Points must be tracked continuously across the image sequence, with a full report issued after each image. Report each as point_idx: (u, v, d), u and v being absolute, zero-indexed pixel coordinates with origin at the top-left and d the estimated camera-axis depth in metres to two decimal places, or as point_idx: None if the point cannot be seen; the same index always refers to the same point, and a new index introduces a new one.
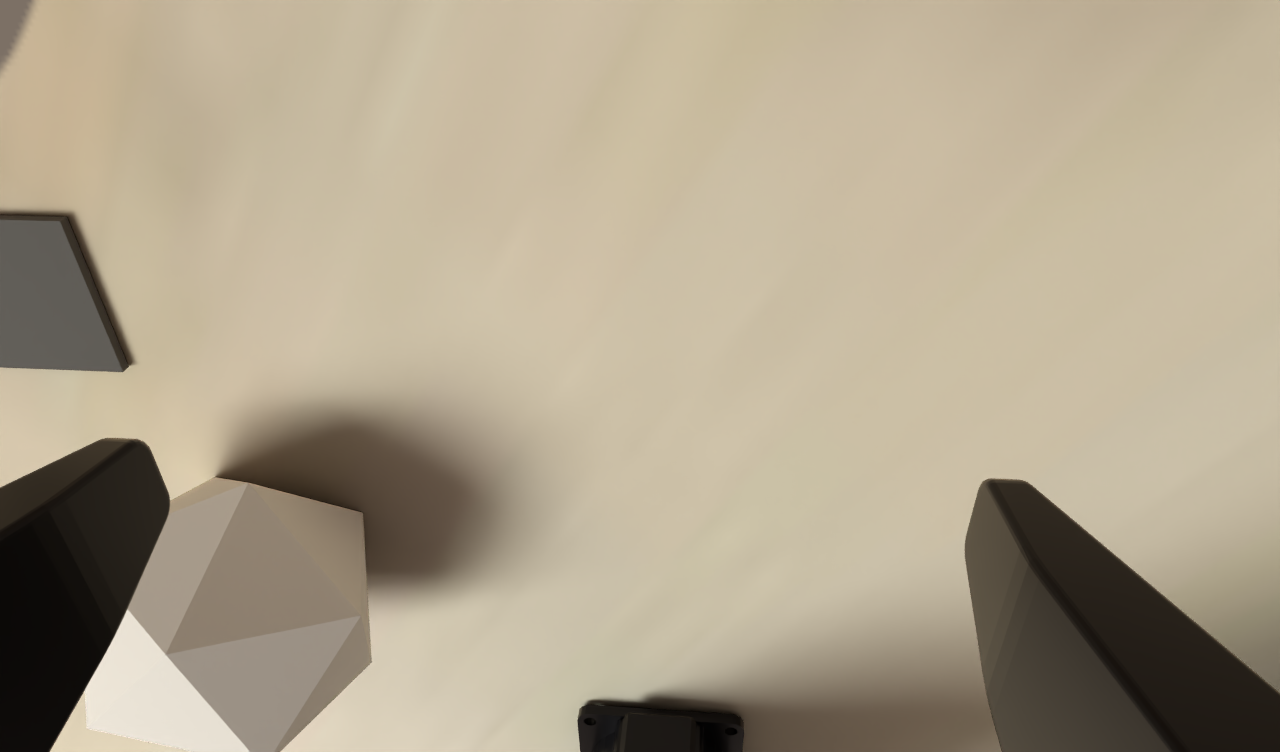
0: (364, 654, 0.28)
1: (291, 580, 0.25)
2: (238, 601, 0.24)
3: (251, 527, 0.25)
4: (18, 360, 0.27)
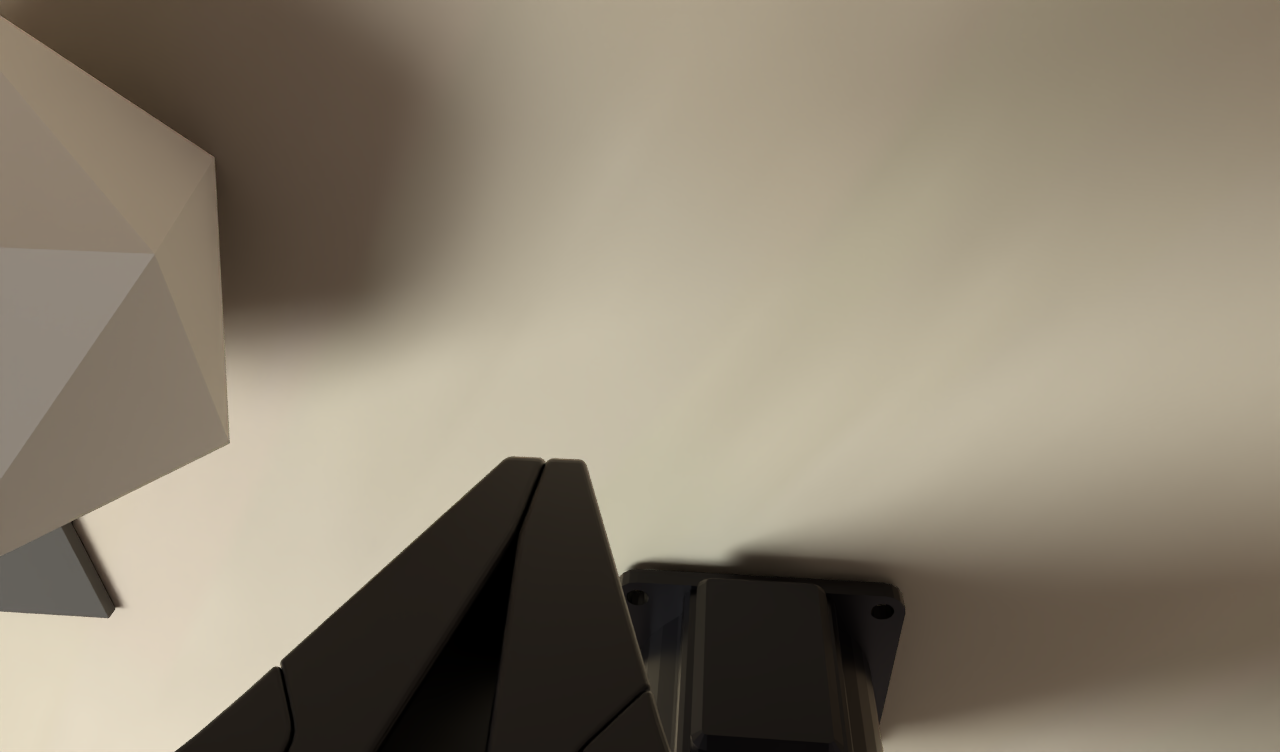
0: (201, 405, 0.14)
1: None
2: None
3: None
4: None
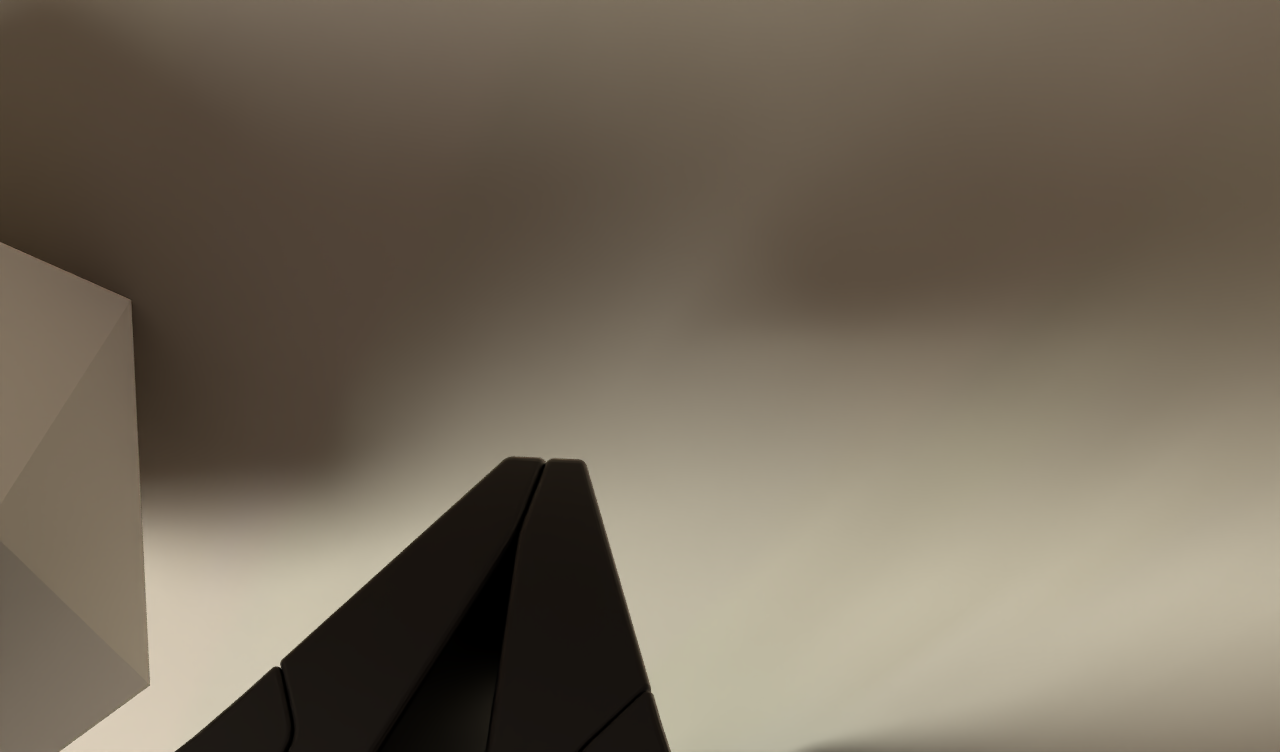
0: (98, 664, 0.10)
1: None
2: None
3: None
4: None
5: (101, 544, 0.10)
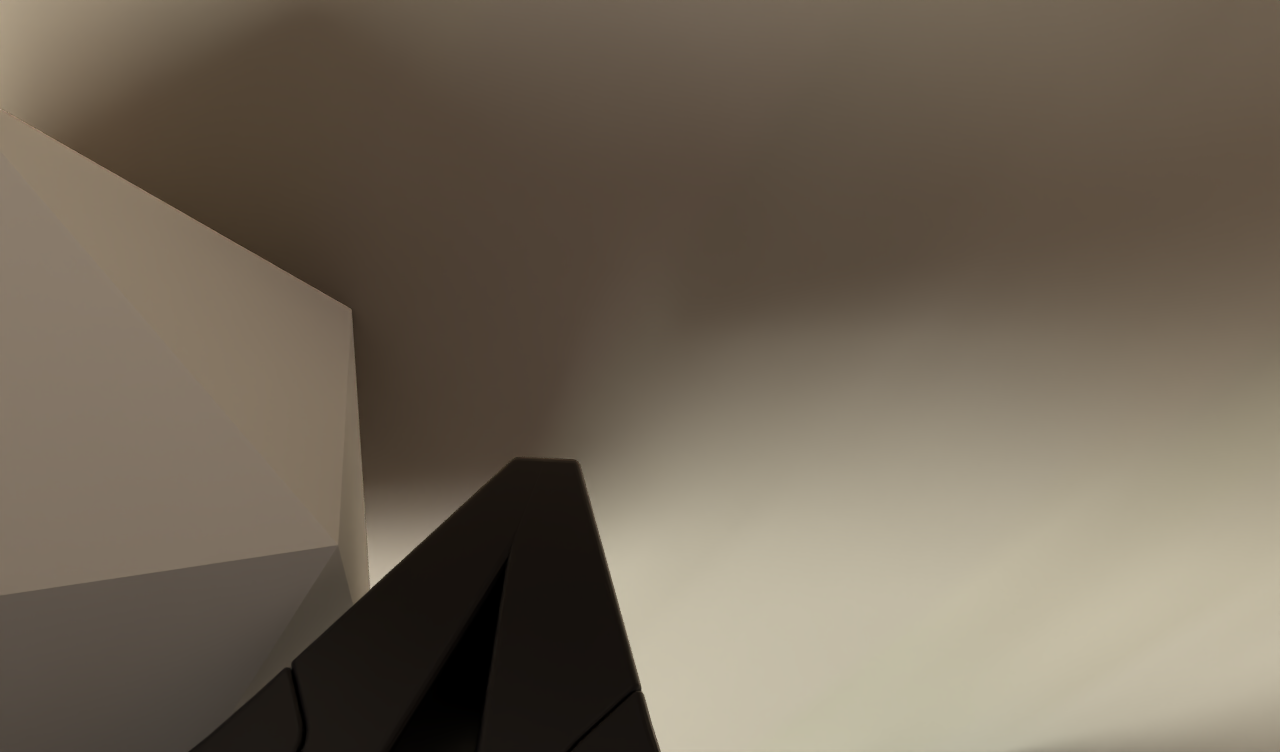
0: None
1: (70, 404, 0.07)
2: None
3: None
4: None
5: (360, 559, 0.10)
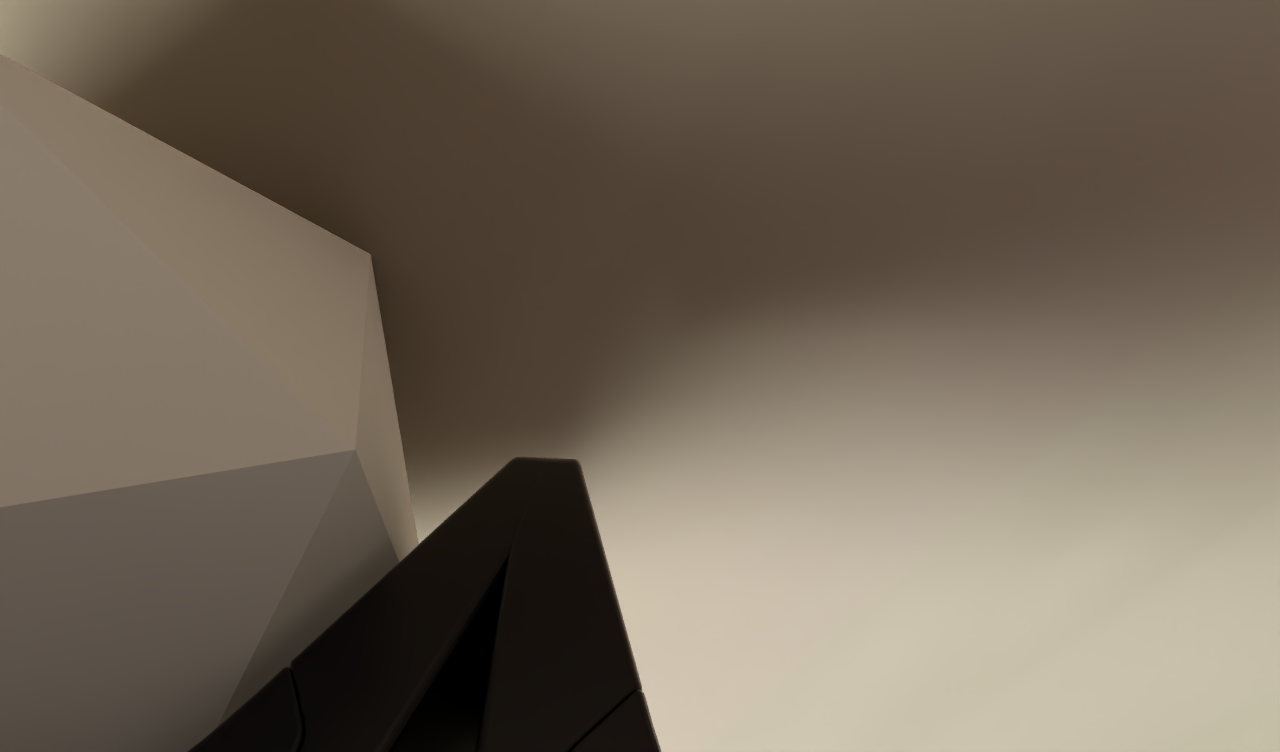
0: None
1: (54, 315, 0.06)
2: None
3: None
4: None
5: (398, 499, 0.09)
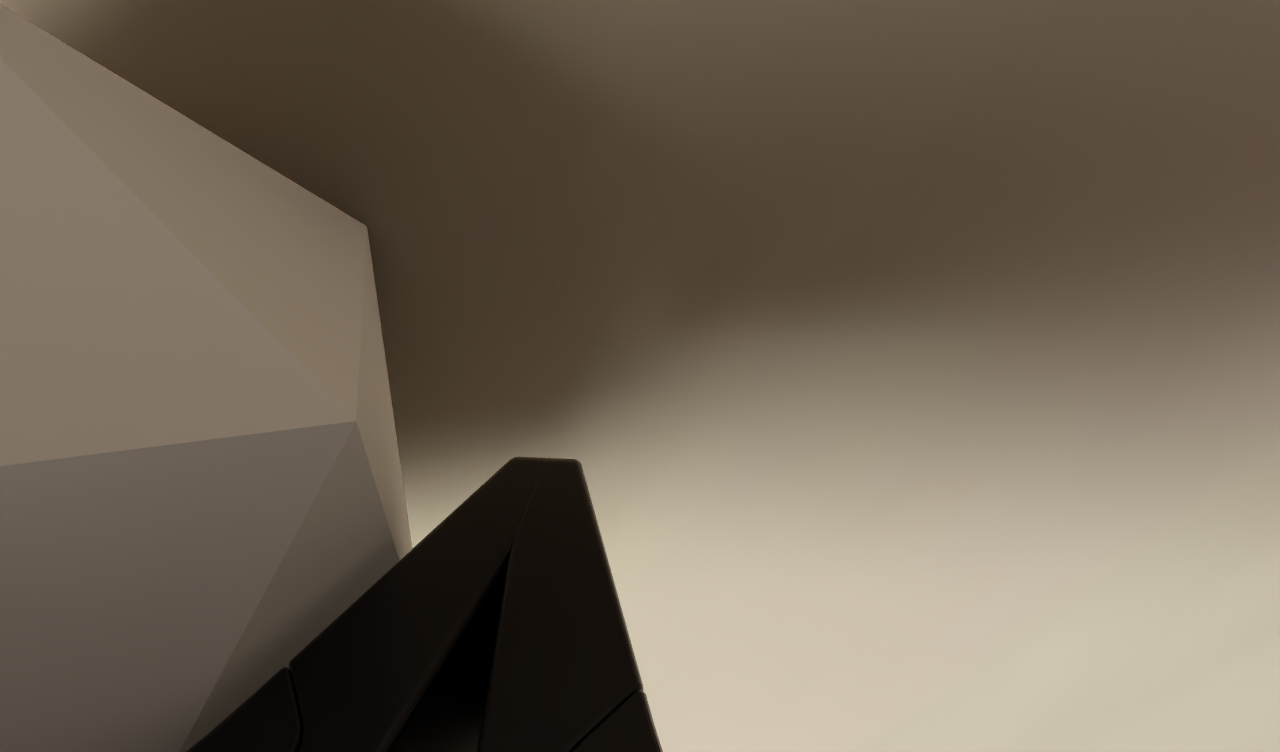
0: None
1: (42, 269, 0.06)
2: None
3: None
4: None
5: (392, 478, 0.09)
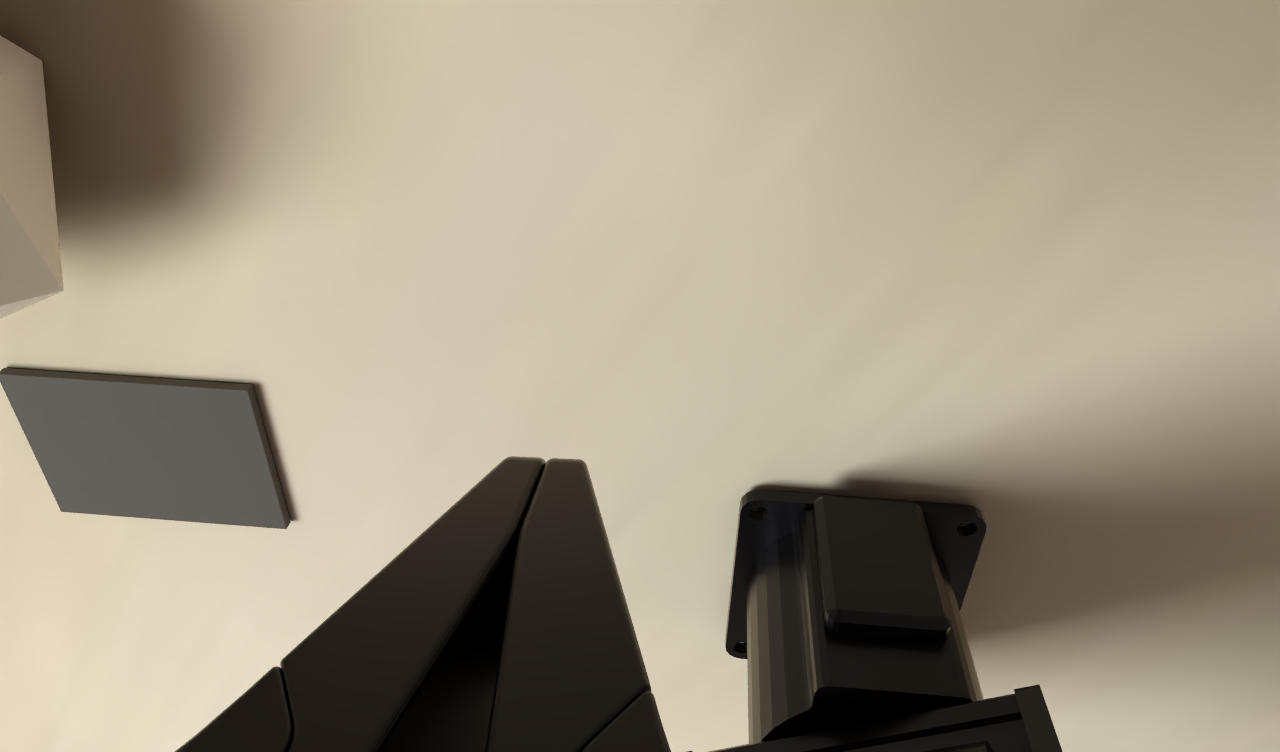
0: (22, 246, 0.17)
1: None
2: None
3: None
4: None
5: (20, 175, 0.17)
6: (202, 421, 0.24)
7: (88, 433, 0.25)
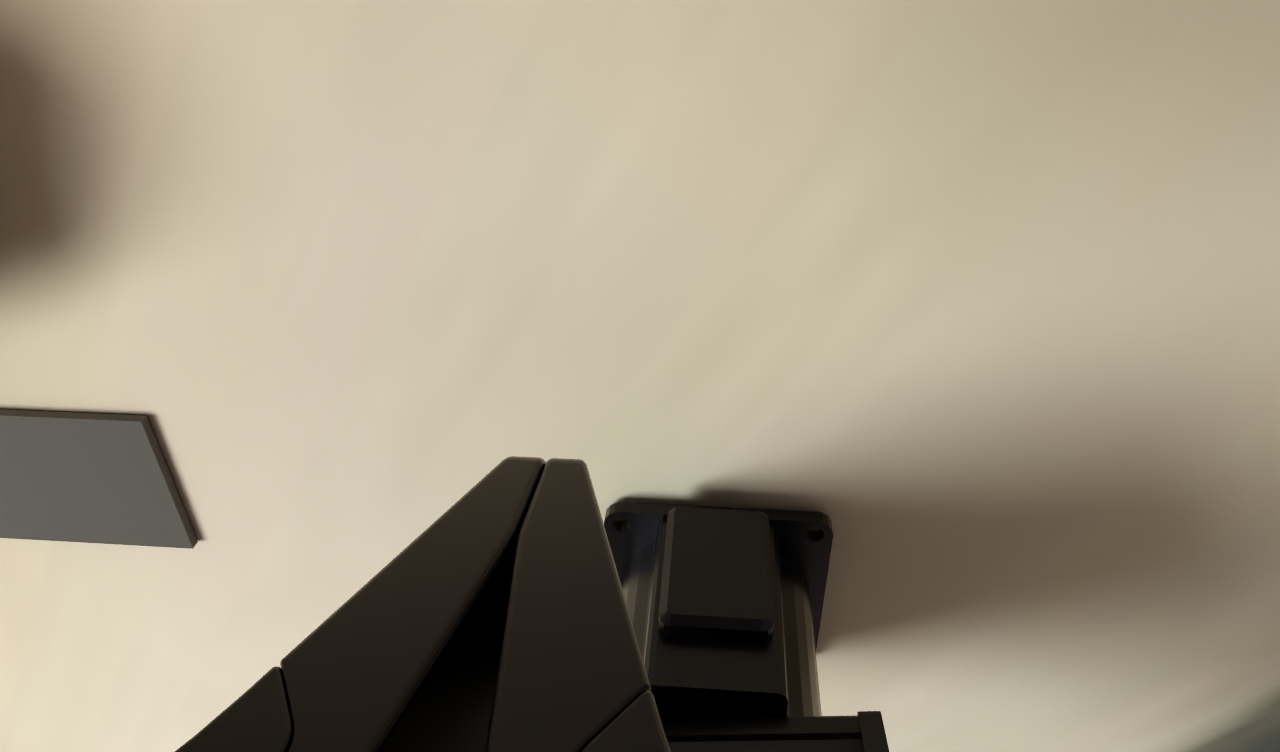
0: None
1: None
2: None
3: None
4: None
5: None
6: (104, 450, 0.26)
7: (1, 464, 0.26)
